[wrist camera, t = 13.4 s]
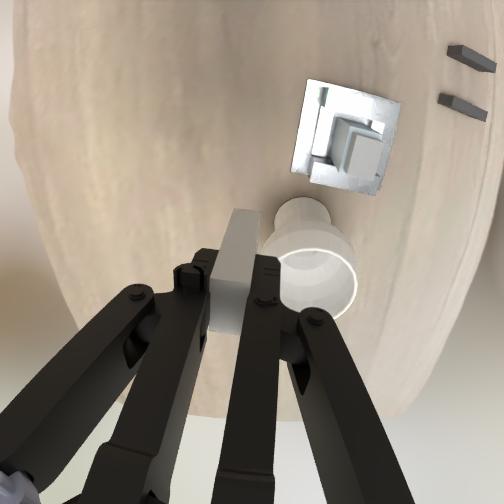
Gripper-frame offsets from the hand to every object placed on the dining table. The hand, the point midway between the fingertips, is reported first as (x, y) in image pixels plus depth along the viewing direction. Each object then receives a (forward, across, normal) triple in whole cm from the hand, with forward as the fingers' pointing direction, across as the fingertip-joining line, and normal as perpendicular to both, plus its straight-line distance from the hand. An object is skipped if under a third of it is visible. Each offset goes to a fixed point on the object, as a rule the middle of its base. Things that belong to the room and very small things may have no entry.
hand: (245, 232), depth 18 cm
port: (+24, +10, +3) cm, 26 cm away
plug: (+24, +10, +2) cm, 26 cm away
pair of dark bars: (+24, +24, +14) cm, 37 cm away
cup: (+24, +6, -10) cm, 27 cm away
